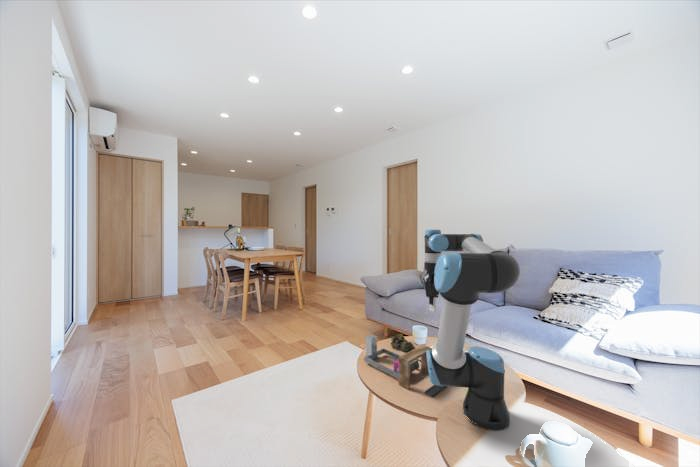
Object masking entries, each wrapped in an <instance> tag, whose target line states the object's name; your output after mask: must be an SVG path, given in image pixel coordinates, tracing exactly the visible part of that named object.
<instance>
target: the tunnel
mask: <svg viewBox="0 0 700 467" xmlns="http://www.w3.org/2000/svg"><path fill="white" fill-rule="evenodd" d="M428 350H432V347H429V346H427V345H424V344H421V345H419V346H416V347H415V348H413V349H412V350H408V351H406V352H405V353H403V354H402V355H400V357H399V379H398V386H400V387H402V388H403V389H405V390H408V391H409V390H410V389H411V374H410V363H411V362H413V361H415V360H419V359H420V371H421V372H423V373H425V374H428V375H429V372H428V365H427V357H426V351H428Z"/></svg>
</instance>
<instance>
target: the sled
mask: <svg viewBox="0 0 700 467" xmlns="http://www.w3.org/2000/svg"><path fill="white" fill-rule="evenodd" d="M382 354H386V355H388V356H390V357H392V358H394V359H396V360H398V359H399V357H400V356H401V354H398V353H395V352H394V351H391V350H390V349H389V350H388V349H386V348H384V347H383V348H381V349H379V350H378V336H377V335H374V334H369V335H366V336H365V356H364V357H363V361H364V362H365V363H367V364H369V365H371V366H373V367H375V368H377V369H378V370H381V371H383V372H385V373H387V374H389V375H391V376H392V377H394V378H396V379H398V380H399V373H397V372H395V371H394V369H391V368H389V367H387V366H385V365H383V364H381V363H379V362H377V361H375V359H376V358H377V357H378V356H381V355H382ZM419 368H420V363H419V359H416V360H415V361H413V362H411V363H410V373H411V374H412V373H413V372H415V371H416V370H418V369H419Z"/></svg>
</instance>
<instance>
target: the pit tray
mask: <svg viewBox="0 0 700 467" xmlns="http://www.w3.org/2000/svg"><path fill="white" fill-rule="evenodd" d="M447 387H448V386H438V385H433V384H432V386H430V387H429V388H428V389H426V390H425V391H424V394H425V395H428V396H429V397H431V398H434V397H436V395H438V394H439V393H441V392H442V391H443V390H444V389H446V388H447Z"/></svg>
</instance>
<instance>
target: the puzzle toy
mask: <svg viewBox="0 0 700 467" xmlns="http://www.w3.org/2000/svg"><path fill="white" fill-rule="evenodd" d="M393 371H395V372H397V373H399V359H396V360H394V361H393ZM410 375H412V372H411V373H410Z"/></svg>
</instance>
